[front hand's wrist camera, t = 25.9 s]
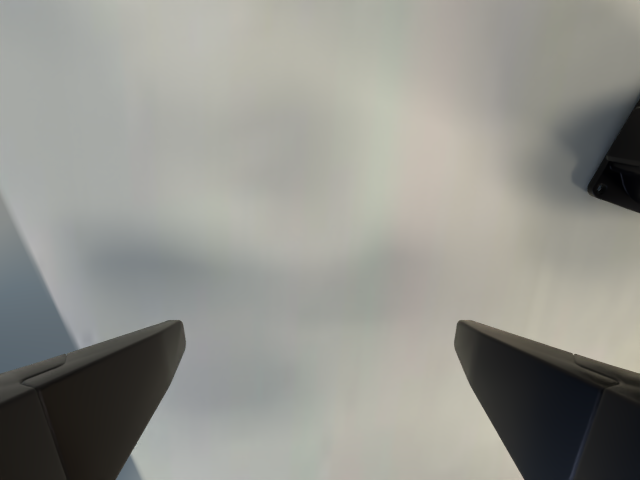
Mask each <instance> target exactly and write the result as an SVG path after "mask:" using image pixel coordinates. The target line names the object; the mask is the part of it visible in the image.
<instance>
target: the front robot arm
mask: <svg viewBox="0 0 640 480" xmlns="http://www.w3.org/2000/svg"><path fill="white" fill-rule="evenodd" d="M600 185H601V186H602V187H601V189H600V190H599V191H597V189H598V187H599V186H600ZM587 191H588V193H589V195H591V196H593V197H596V198H599V199H602V200H604V201H607V202H610V203H613V204H616V205H618V206H621V207H624V208H627V209H630V210H632V211H635V212H638V213H640V99H639V101H638V103H637V104H636V106H635V108H634V110H633V111H632V113H631V114H630V116H629V118H628V119H627V121H626V123H625V124H624V126H623V128H622V129H621V131H620V133H619V135H618V136H617V138H616V140H615V141H614V143H613V145H612V146H611V148H610V150H609V151H608V153H607V155H606V156H605V158H604V160H603V161H602V163H601V165H600V167H599V168H598V170H597V172H596V173H595V175H594V177H593V178H592V180H591V182H590V183H589V185H588V188H587ZM185 347H186V340H185V334H184V327H183V323H182V321H180V320H168V321H165V322H162V323H159V324H156V325H153V326H150V327H147V328H144V329H141V330H138V331H135V332H132V333H129V334H125V335H122V336H119V337H116V338H113V339H110V340H107V341H104V342H101V343H98V344H95V345H92V346H89V347H86V348H83V349H80V350H76V351H73V352H70V353H68V354H67V355H66V354H63V355H60V356H57V357H54V358H51V359H47V360H44V361H41V362H38V363H35V364H31V365H28V366H25V367H21V368H18V369H15V370H11V371H8V372H4V373H1V374H0V480H116V478H117V476H118V475H119V473H120V471H121V469H122V468H123V466H124V464H125V462H126V461H127V459H128V457H129V456H130V454H131V452H132V450H133V449H134V447H135V445H136V443H137V442H138V440H139V438H140V436H141V435H142V433H143V431H144V429H145V428H146V426H147V424H148V422H149V421H150V419H151V417H152V416H153V414H154V412H155V410H156V409H157V407H158V405H159V403H160V402H161V400H162V398H163V396H164V395H165V393H166V391H167V389H168V388H169V386H170V384H171V382H172V379H173V377H174V375H175V372H176V370H177V367H178V365H179V363H180V360H181V358H182V355H183V353H184V351H185ZM454 347H455V351H456V353H457V355H458V358H459V360H460V363H461V365H462V367H463V370H464V372H465V375H466V377H467V379H468V382H469V384H470V386H471V388H472V389H473V391H474V393H475V395H476V396H477V398H478V400H479V402H480V403H481V405H482V407H483V409H484V410H485V412H486V414H487V416H488V417H489V419H490V421H491V422H492V424H493V426H494V428H495V429H496V431H497V433H498V435H499V436H500V438H501V440H502V442H503V443H504V445H505V447H506V449H507V450H508V452H509V454H510V456H511V457H512V459H513V461H514V463H515V464H516V466H517V468H518V469H519V471H520V473H521V475H522V476H523V478H524V480H640V374H639V373H636V372H632V371H629V370H625V369H622V368H619V367H615V366H612V365H609V364H606V363H602V362H599V361H596V360H593V359H590V358H586V357H583V356H580V355H577V354H574V355H573V354H572V353H570V352H567V351H564V350H560V349H557V348H554V347H551V346H548V345H545V344H542V343H539V342H536V341H533V340H530V339H527V338H524V337H521V336H518V335H515V334H511V333H508V332H505V331H502V330H499V329H496V328H493V327H490V326H487V325H484V324H481V323H478V322H475V321H472V320H460V321H458V323H457V327H456V334H455V340H454Z"/></svg>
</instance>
